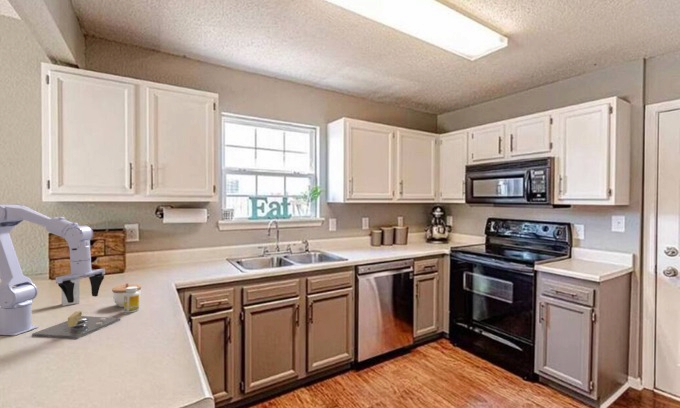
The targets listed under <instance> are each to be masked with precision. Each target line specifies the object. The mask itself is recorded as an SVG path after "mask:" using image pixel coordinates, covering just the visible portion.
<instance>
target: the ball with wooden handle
mask: <svg viewBox="0 0 680 408" xmlns="http://www.w3.org/2000/svg"><path fill="white" fill-rule="evenodd" d="M82 316H83V315H82V311H81V310H79V311H75V312H73V313H72V314H70V315H69V316H68V317H67V321H68V327H73V326H75V325H76V324H79V323H84V322H86V321H88V317H82Z"/></svg>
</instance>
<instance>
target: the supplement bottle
mask: <svg viewBox="0 0 680 408" xmlns="http://www.w3.org/2000/svg"><path fill="white" fill-rule="evenodd" d="M126 292H127V293H125V294H124V307H123V312H124V313H126V314H127V313H134V312H138V311H139V310H140V298H139V292H137V287H128V288H126Z"/></svg>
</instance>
